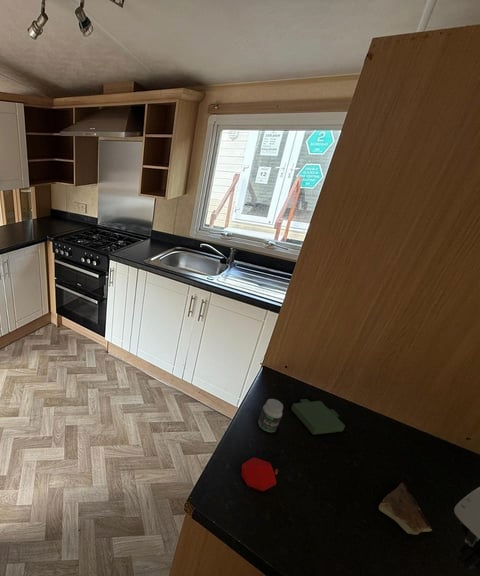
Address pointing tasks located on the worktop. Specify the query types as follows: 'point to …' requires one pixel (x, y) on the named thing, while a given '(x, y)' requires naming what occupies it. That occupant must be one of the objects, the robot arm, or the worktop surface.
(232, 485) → the worktop surface
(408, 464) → the worktop surface
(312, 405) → the rubber pad
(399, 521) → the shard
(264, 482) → the apple
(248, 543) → the worktop surface
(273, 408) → the pill bottle
